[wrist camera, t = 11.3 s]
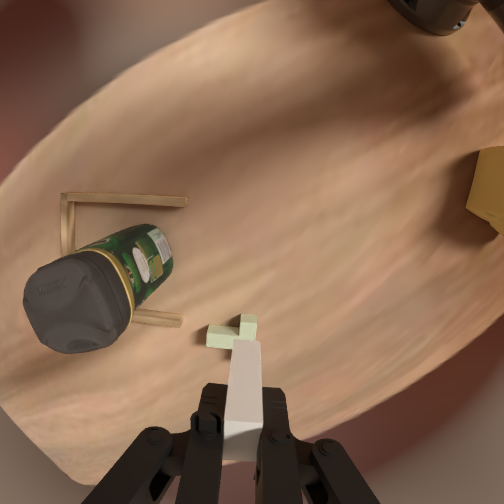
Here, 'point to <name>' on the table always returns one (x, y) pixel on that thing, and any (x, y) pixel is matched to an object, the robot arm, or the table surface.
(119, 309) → the coffee jar
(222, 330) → the sage T block
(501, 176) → the cheese
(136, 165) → the table surface
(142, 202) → the oak frame
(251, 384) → the robot arm
